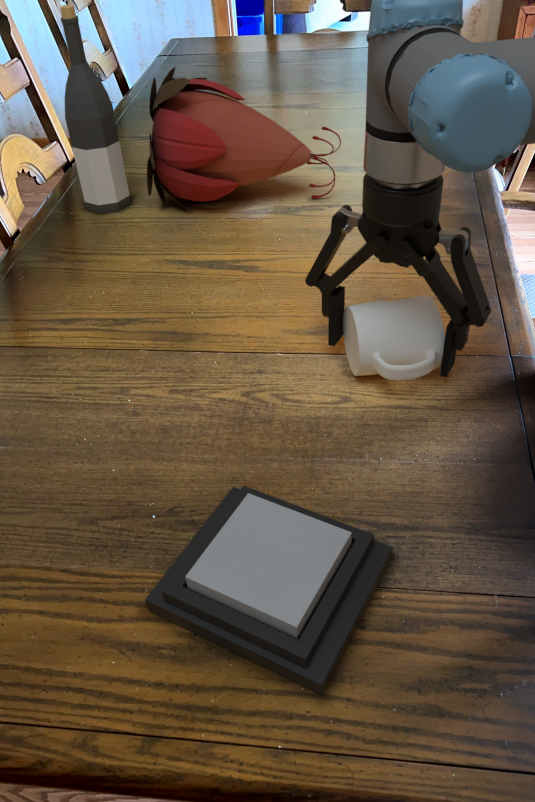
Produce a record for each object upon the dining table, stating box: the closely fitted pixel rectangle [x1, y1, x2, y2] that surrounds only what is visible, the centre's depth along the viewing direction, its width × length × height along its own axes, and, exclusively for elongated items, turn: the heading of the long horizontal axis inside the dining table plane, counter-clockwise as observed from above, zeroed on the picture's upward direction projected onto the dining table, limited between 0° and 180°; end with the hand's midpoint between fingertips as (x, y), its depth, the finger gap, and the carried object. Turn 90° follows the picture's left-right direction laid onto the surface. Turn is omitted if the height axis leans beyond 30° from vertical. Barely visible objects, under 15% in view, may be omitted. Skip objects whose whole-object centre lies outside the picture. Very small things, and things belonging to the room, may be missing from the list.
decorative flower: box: [146, 66, 342, 211], centre depth 115 cm, size 22×23×30 cm
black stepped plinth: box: [144, 485, 394, 696], centre depth 60 cm, size 16×14×3 cm
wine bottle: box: [59, 3, 131, 215], centre depth 112 cm, size 8×8×30 cm
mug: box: [343, 294, 446, 382], centre depth 80 cm, size 12×9×8 cm
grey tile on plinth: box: [185, 493, 352, 638], centre depth 59 cm, size 10×10×2 cm
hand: (389, 354), depth 81 cm, fingers closed on mug, 13 cm apart
